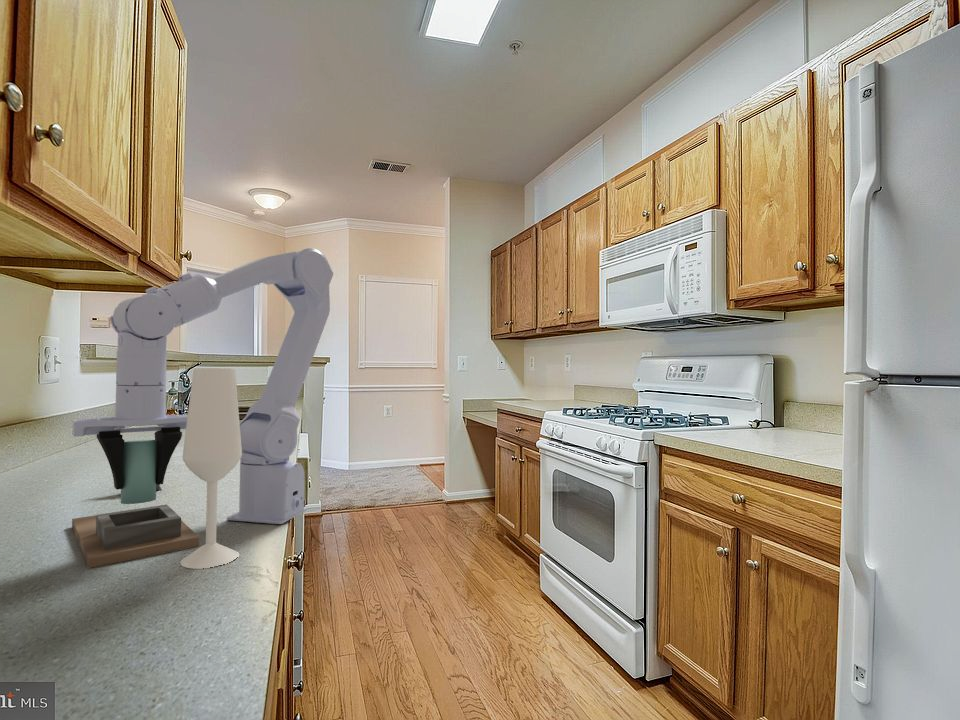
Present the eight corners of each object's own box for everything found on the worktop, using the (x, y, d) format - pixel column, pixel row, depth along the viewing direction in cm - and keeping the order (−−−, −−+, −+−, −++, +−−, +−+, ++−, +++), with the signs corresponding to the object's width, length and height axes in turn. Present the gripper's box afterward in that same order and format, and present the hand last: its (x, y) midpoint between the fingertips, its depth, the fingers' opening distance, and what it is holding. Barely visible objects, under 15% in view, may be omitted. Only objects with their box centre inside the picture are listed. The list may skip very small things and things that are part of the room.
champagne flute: (172, 570, 63) (176, 368, 63) (189, 550, 69) (193, 367, 69) (233, 566, 64) (237, 369, 64) (244, 547, 71) (248, 368, 71)
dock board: (199, 546, 71) (199, 518, 71) (88, 568, 63) (89, 537, 63) (164, 512, 86) (165, 489, 86) (72, 526, 78) (72, 501, 78)
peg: (162, 497, 73) (163, 439, 73) (139, 504, 69) (140, 442, 70) (137, 497, 74) (138, 439, 74) (113, 503, 70) (114, 443, 70)
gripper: (192, 383, 79) (190, 473, 79) (71, 384, 70) (68, 487, 69) (206, 385, 74) (204, 482, 74) (76, 386, 64) (74, 498, 64)
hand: (139, 485), depth 71 cm, fingers closed on peg, 4 cm apart
